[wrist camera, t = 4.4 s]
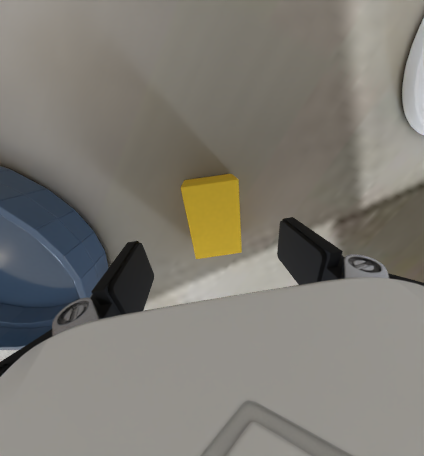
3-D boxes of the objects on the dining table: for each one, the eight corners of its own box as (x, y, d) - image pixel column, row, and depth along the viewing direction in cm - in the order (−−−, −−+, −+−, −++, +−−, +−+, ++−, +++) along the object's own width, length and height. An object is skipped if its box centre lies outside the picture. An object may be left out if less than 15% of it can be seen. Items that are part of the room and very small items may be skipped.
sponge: (183, 180, 14) (180, 187, 12) (231, 173, 15) (238, 178, 12) (196, 242, 18) (195, 259, 15) (235, 237, 18) (241, 252, 15)
